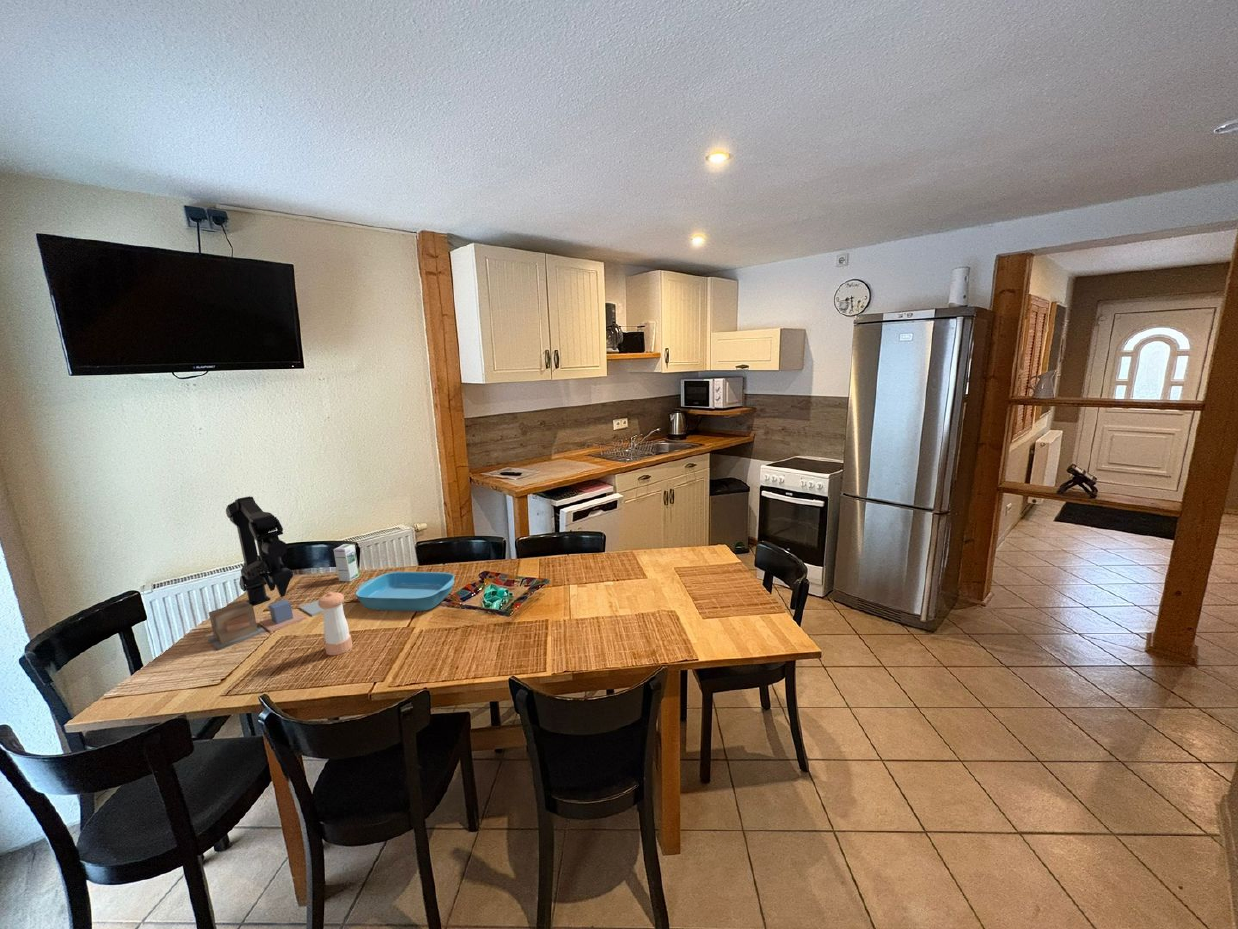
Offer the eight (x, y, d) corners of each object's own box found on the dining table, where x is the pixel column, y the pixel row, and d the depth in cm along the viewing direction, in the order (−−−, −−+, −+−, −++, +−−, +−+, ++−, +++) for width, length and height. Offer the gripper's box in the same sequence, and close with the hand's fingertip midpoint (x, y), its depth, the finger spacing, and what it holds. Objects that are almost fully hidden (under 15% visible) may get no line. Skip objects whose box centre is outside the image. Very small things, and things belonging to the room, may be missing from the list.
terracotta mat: (259, 623, 174) (258, 622, 174) (293, 610, 183) (293, 609, 183) (270, 632, 168) (270, 630, 168) (306, 618, 176) (305, 617, 176)
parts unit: (207, 640, 164) (201, 613, 163) (253, 623, 175) (248, 597, 173) (218, 650, 158) (211, 622, 156) (265, 632, 168) (259, 605, 166)
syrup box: (350, 581, 206) (345, 549, 203) (338, 581, 207) (333, 548, 204) (360, 576, 212) (355, 544, 209) (348, 575, 213) (343, 543, 210)
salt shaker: (334, 658, 151) (323, 600, 147) (321, 651, 154) (311, 594, 151) (357, 646, 157) (348, 590, 153) (344, 640, 160) (335, 585, 157)
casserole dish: (344, 613, 179) (341, 595, 178) (383, 586, 201) (380, 569, 200) (438, 617, 173) (436, 598, 172) (467, 589, 195) (465, 572, 193)
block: (271, 620, 175) (268, 604, 173) (287, 614, 179) (284, 599, 177) (277, 624, 172) (274, 608, 171) (293, 618, 176) (290, 602, 174)
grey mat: (299, 608, 184) (299, 606, 184) (330, 596, 193) (330, 595, 193) (312, 616, 178) (311, 614, 178) (343, 603, 186) (343, 602, 186)
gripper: (231, 553, 169) (240, 596, 172) (251, 564, 158) (260, 609, 161) (269, 543, 178) (277, 584, 181) (289, 553, 167) (298, 596, 170)
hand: (277, 593), depth 173 cm, fingers open, 9 cm apart
